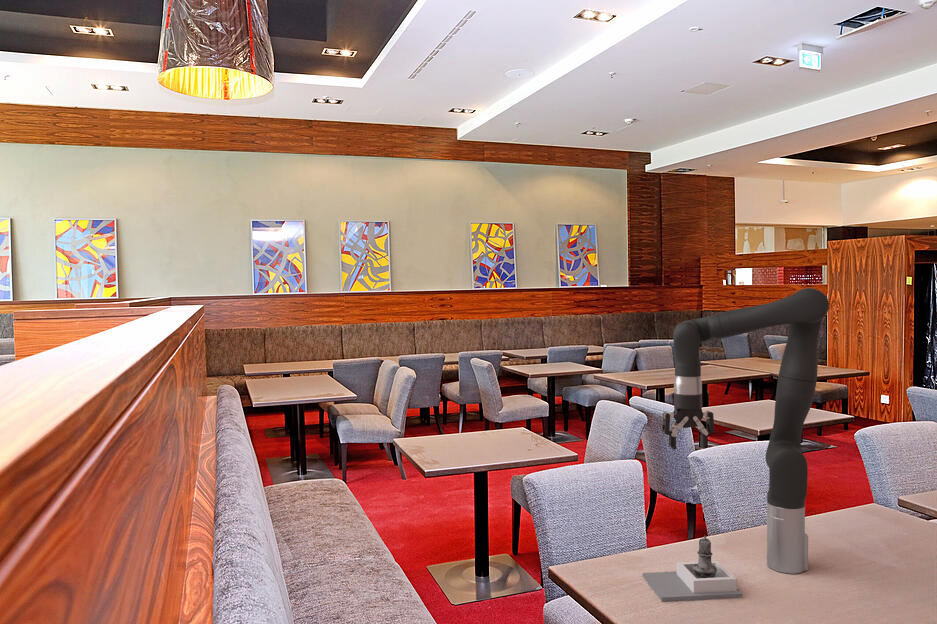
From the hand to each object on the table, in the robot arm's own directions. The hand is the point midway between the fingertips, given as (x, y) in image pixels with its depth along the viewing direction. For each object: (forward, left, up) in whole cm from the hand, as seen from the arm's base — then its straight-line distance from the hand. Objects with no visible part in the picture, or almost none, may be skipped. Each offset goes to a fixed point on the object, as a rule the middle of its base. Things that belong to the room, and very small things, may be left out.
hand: (688, 448), depth 191 cm
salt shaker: (+4, +21, -29) cm, 36 cm away
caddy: (+8, +21, -30) cm, 37 cm away
